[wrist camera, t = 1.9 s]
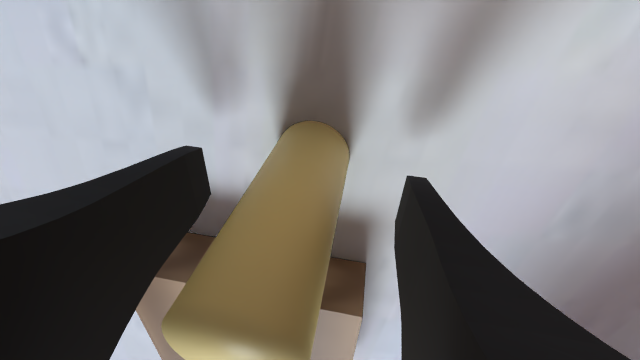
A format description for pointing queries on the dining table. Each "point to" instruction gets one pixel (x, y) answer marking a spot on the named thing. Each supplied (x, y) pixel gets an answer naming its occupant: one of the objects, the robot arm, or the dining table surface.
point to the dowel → (267, 258)
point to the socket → (334, 317)
